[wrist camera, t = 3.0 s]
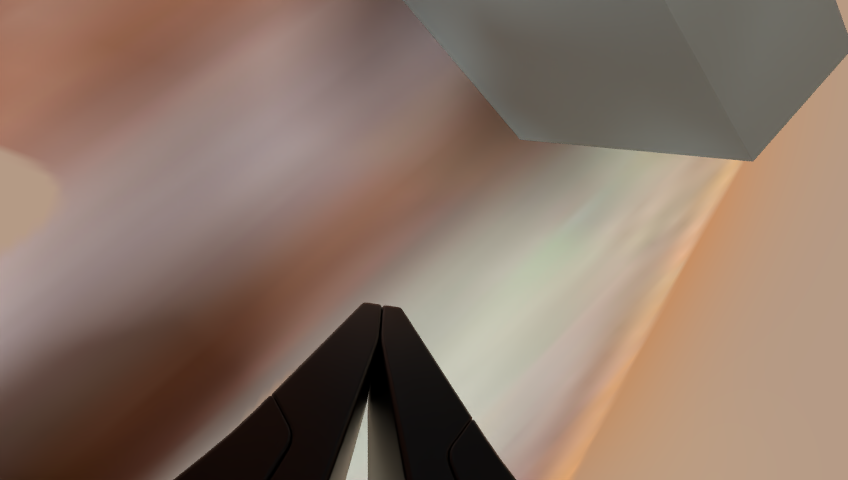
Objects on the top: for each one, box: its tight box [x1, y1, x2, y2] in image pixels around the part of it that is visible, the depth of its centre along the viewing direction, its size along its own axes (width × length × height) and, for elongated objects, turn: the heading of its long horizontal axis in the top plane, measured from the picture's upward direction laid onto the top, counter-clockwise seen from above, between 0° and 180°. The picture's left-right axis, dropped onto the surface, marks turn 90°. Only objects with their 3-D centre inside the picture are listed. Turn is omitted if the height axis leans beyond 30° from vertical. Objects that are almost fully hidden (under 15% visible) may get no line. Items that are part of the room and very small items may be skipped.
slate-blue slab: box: [403, 0, 848, 161], centre depth 15 cm, size 4×10×12 cm, turn 46°
